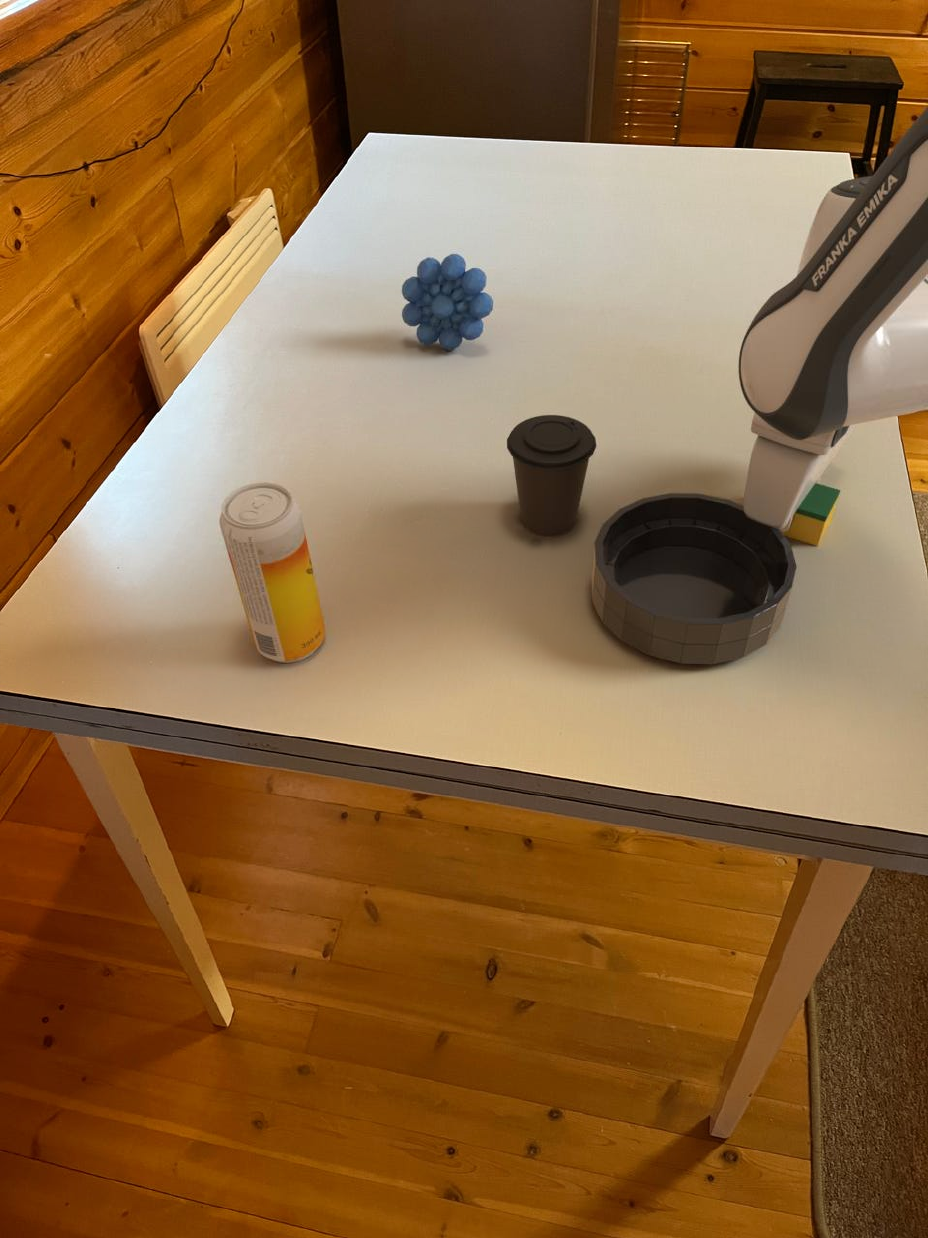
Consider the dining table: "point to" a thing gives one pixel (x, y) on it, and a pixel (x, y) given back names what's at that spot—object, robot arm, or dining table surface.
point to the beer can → (273, 570)
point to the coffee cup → (550, 471)
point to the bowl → (691, 578)
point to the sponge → (814, 515)
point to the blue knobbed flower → (446, 301)
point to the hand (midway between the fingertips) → (792, 508)
